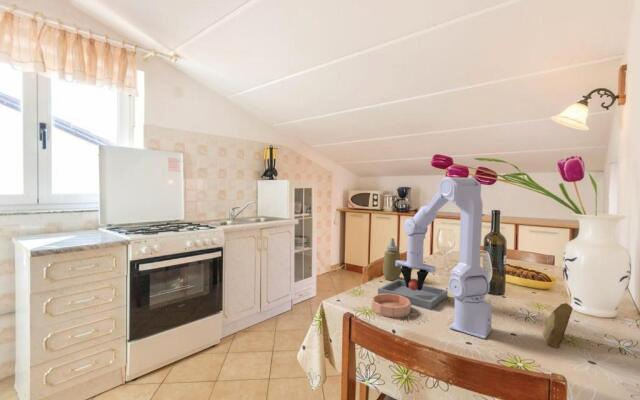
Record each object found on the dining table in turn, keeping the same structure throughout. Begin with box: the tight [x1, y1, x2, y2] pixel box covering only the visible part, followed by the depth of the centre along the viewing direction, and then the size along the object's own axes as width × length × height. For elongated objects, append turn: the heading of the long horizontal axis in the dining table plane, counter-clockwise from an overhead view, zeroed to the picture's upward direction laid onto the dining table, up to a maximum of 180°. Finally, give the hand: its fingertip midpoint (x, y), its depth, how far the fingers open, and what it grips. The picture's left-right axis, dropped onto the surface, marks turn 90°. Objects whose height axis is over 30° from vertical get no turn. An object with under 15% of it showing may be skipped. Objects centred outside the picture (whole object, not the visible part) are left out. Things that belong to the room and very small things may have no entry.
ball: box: [409, 278, 418, 290], centre depth 112 cm, size 4×4×4 cm
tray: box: [377, 278, 449, 311], centre depth 114 cm, size 20×16×2 cm
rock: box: [542, 302, 574, 349], centre depth 83 cm, size 11×9×10 cm
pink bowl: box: [371, 293, 412, 319], centre depth 101 cm, size 12×13×3 cm
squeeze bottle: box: [382, 237, 402, 282], centre depth 135 cm, size 8×8×18 cm
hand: (414, 288), depth 112 cm, fingers closed on ball, 4 cm apart
